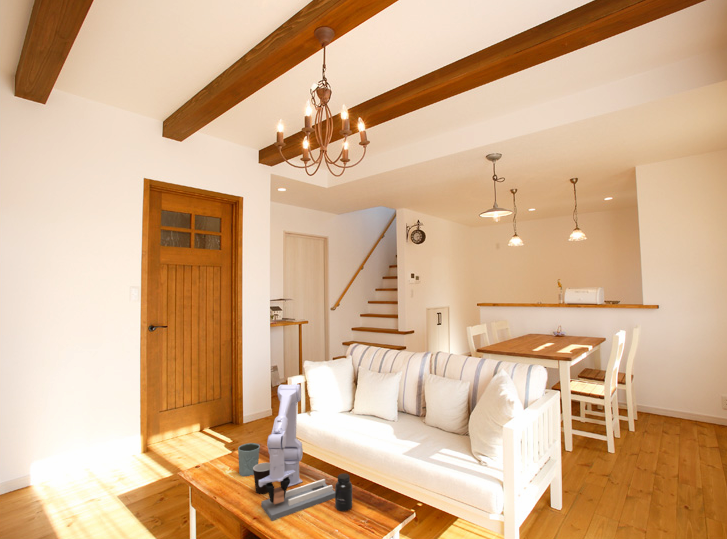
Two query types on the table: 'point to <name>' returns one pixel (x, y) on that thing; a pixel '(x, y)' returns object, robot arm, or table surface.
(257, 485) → the coffee mug
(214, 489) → the table surface
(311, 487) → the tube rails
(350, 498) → the supplement bottle
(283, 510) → the trap deck
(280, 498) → the block
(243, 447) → the grey green planter pot
